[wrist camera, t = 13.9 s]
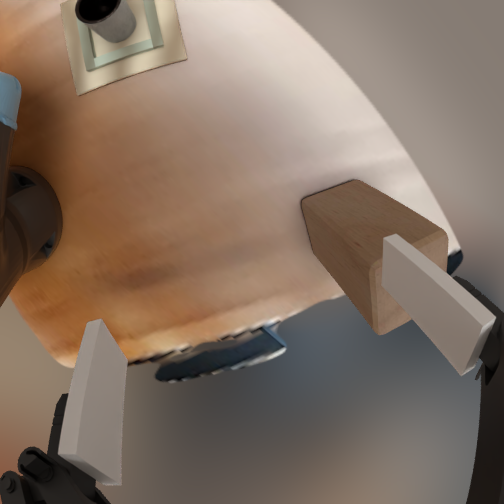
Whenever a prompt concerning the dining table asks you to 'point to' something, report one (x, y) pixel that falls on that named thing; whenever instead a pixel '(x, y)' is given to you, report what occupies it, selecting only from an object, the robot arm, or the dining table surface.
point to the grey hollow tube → (107, 18)
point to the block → (367, 245)
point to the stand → (122, 45)
